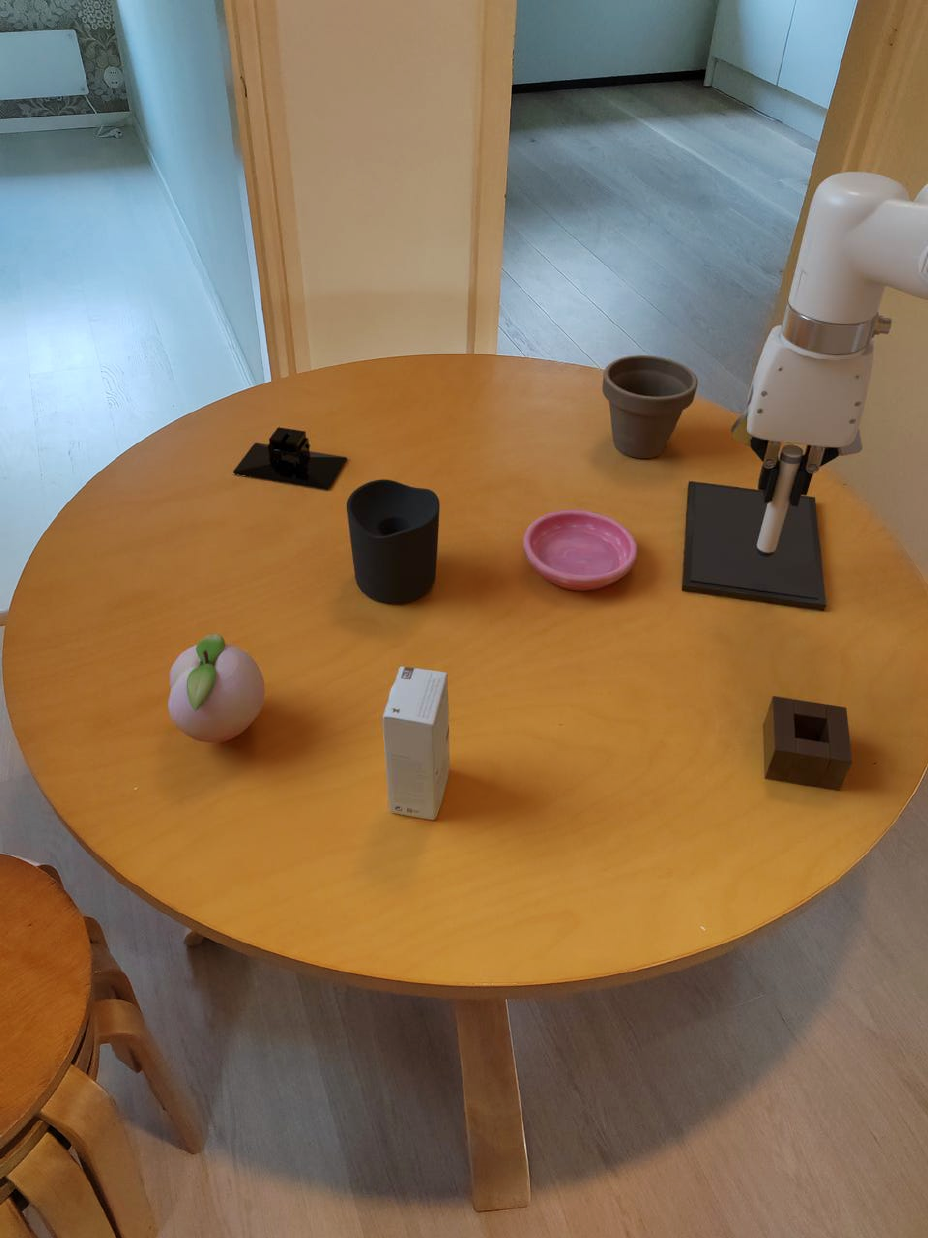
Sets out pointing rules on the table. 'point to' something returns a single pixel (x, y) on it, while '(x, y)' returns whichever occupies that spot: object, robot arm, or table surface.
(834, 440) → the robot arm
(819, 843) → the table surface
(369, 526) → the pen holder
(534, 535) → the saucer
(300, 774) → the table surface
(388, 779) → the cosmetic box
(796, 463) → the stylus
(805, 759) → the pen stand
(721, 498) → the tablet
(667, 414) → the flower pot
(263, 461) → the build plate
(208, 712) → the decorative fruit
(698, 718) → the table surface
